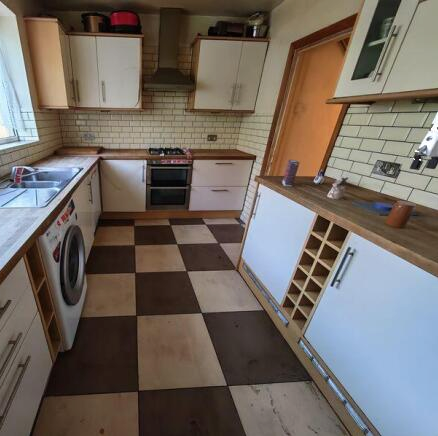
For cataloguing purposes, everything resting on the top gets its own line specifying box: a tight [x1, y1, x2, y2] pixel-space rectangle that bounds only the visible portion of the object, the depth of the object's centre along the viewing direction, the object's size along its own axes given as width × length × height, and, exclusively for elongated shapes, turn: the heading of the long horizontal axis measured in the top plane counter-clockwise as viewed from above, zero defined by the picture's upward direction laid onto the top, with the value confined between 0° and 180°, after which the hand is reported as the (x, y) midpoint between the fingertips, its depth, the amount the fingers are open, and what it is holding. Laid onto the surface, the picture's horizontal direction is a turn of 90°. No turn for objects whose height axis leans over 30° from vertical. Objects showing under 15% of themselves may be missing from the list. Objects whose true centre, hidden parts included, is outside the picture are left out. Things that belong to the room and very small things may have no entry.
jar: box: [384, 200, 417, 229], centre depth 98 cm, size 6×6×10 cm
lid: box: [374, 202, 393, 211], centre depth 117 cm, size 7×7×2 cm
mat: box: [351, 201, 419, 217], centre depth 117 cm, size 20×16×1 cm
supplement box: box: [281, 159, 300, 188], centre depth 149 cm, size 9×5×16 cm, turn 161°
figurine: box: [327, 176, 349, 200], centre depth 129 cm, size 7×7×12 cm
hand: (422, 168), depth 104 cm, fingers open, 9 cm apart
